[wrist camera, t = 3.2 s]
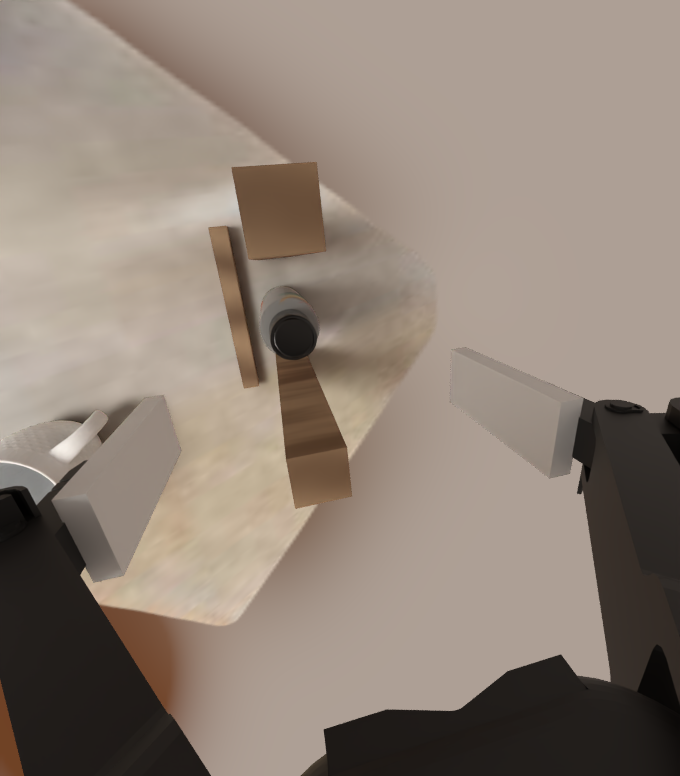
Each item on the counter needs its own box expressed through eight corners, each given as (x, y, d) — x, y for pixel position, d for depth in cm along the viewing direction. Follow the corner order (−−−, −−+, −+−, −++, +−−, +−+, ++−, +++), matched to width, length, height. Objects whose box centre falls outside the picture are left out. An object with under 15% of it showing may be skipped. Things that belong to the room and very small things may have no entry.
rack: (210, 228, 41) (115, 175, 15) (285, 222, 42) (316, 161, 16) (244, 383, 48) (219, 525, 22) (307, 373, 49) (352, 496, 24)
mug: (82, 369, 43) (12, 411, 31) (155, 423, 47) (118, 478, 35) (5, 445, 44) (-91, 513, 32) (84, 490, 49) (24, 566, 37)
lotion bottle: (268, 333, 46) (269, 381, 28) (255, 291, 44) (248, 313, 26) (308, 323, 47) (335, 363, 28) (298, 281, 45) (320, 296, 26)
